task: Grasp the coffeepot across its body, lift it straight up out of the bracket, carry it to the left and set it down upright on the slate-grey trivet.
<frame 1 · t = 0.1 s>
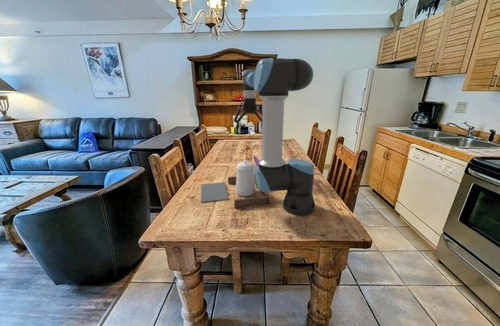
hand: (250, 132, 139), 28 cm above the table, fingers open, 13 cm apart
coffeepot: (245, 193, 120), on the table
trivet: (214, 191, 121), on the table
teapot: (268, 174, 146), on the table
bracket: (245, 192, 120), on the table
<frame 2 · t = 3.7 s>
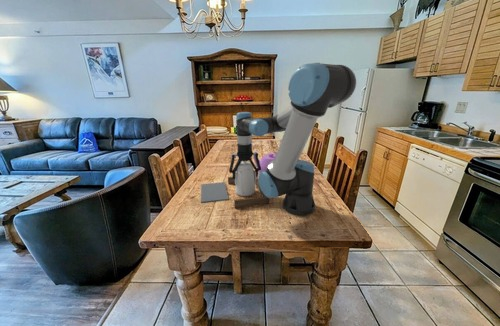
hand: (245, 183, 118), 6 cm above the table, fingers closed on coffeepot, 10 cm apart
coffeepot: (245, 193, 120), on the table, touching gripper
everything else where it was.
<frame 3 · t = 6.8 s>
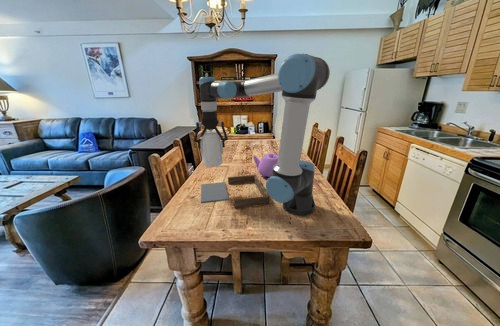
hand: (212, 154, 114), 22 cm above the table, fingers closed on coffeepot, 10 cm apart
coffeepot: (212, 164, 116), point 16 cm above the table, touching gripper
everything else where it was.
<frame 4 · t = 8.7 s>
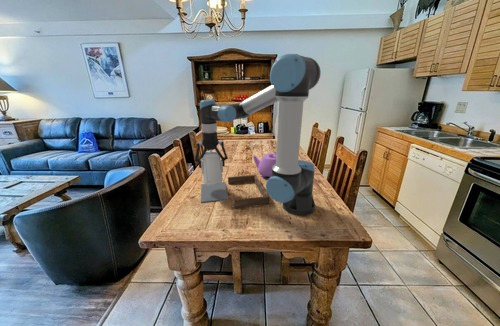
hand: (212, 172, 118), 12 cm above the table, fingers closed on coffeepot, 10 cm apart
coffeepot: (212, 182, 120), point 6 cm above the table, touching gripper
everything else where it was.
when the fingers open (8 cm above the table, at t = 10.1 s): coffeepot drops 1 cm, resting on trivet.
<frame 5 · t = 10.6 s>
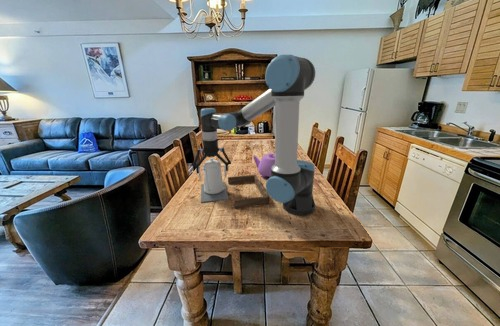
hand: (212, 177, 119), 9 cm above the table, fingers open, 13 cm apart
coffeepot: (213, 191, 121), resting on trivet
everything else where it was.
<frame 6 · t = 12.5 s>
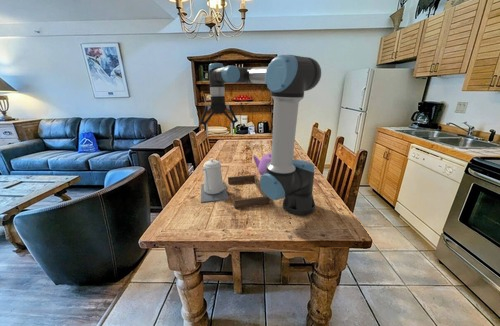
hand: (220, 135, 121), 30 cm above the table, fingers open, 13 cm apart
nothing on the table moved.
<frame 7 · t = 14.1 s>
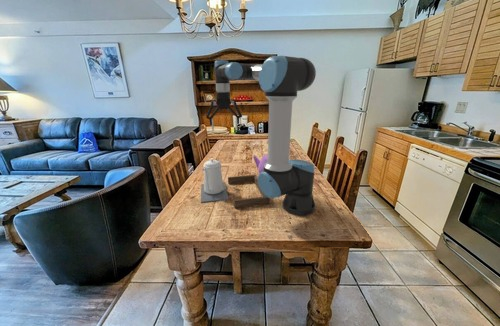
hand: (224, 130, 126), 32 cm above the table, fingers open, 13 cm apart
nothing on the table moved.
at the end: coffeepot inside the target area on the trivet (0.1 cm from its centre), point 0.4 cm above the trivet's base; coffeepot tilted 0°; coffeepot touching trivet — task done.
